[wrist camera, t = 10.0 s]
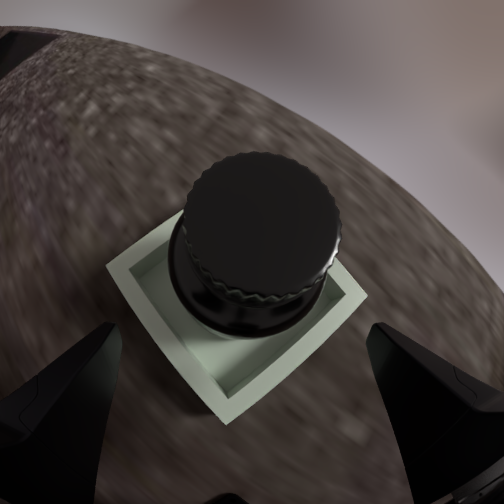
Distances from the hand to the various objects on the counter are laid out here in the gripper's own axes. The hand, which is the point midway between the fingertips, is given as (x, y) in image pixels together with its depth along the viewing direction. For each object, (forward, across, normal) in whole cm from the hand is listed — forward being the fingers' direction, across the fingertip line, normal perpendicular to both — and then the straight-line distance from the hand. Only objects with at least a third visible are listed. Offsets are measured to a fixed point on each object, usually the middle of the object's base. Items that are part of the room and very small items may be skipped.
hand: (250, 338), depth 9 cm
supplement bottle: (+10, 0, +4) cm, 11 cm away
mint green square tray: (+10, 0, +5) cm, 11 cm away
